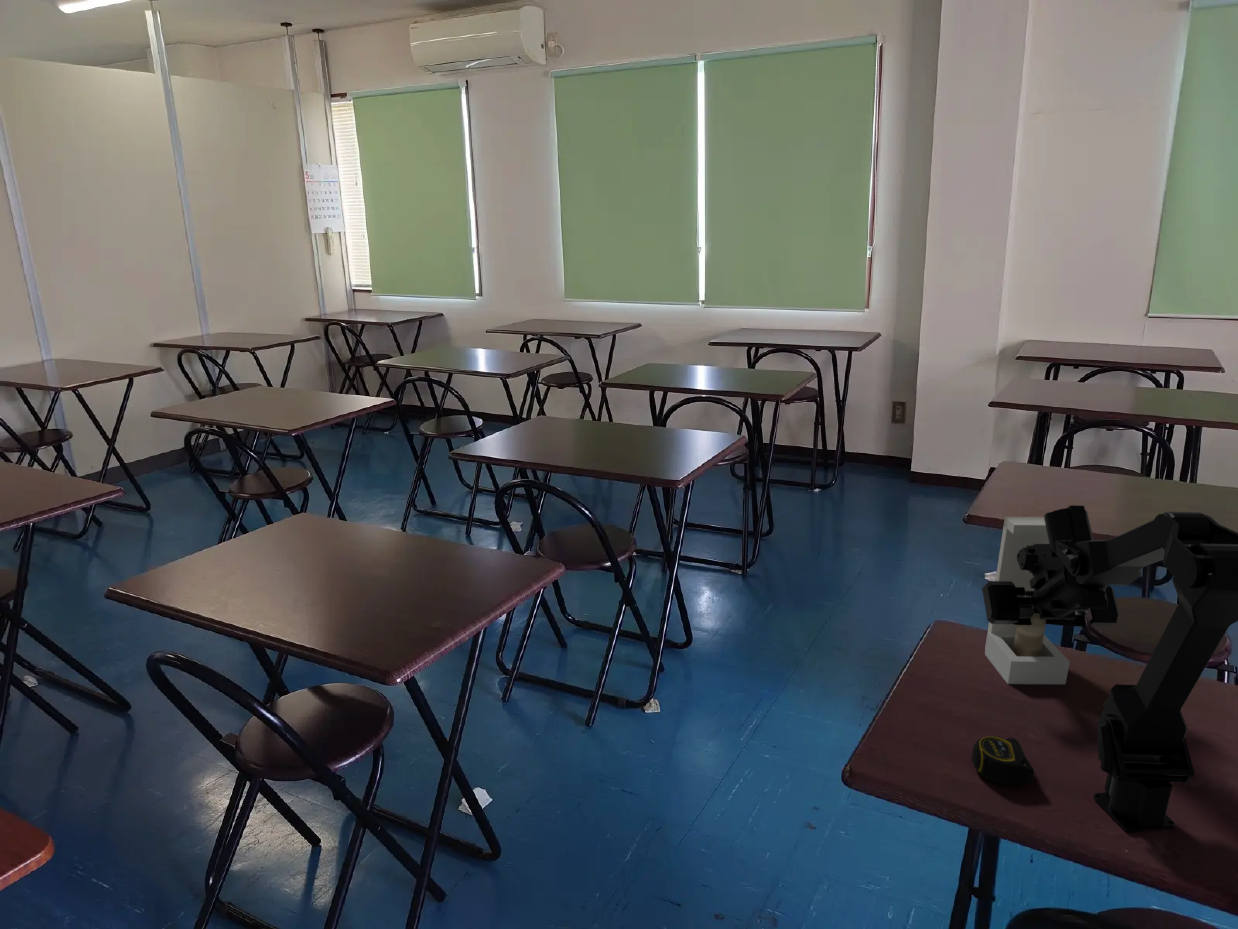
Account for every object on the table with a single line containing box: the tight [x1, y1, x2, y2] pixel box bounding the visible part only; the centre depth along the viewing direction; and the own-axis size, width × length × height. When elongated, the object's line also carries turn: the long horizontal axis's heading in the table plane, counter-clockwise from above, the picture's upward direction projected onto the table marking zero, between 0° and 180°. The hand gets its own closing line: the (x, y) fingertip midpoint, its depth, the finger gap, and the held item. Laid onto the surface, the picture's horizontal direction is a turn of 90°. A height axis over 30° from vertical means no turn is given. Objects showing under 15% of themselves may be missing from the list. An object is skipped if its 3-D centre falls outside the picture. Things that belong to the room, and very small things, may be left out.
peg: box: [1013, 607, 1047, 657], centre depth 136 cm, size 4×4×11 cm
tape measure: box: [971, 735, 1035, 785], centre depth 113 cm, size 7×7×4 cm
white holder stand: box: [984, 516, 1070, 685], centre depth 135 cm, size 10×9×24 cm
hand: (1027, 620), depth 137 cm, fingers closed on peg, 4 cm apart
